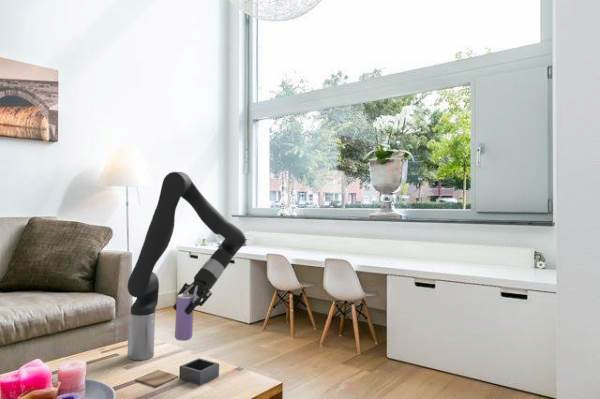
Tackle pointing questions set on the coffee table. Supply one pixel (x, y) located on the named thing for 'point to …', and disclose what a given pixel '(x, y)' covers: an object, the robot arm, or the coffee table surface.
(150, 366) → the coffee table surface
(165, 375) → the walnut coaster
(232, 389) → the coffee table surface
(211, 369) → the square socket
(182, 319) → the beverage can
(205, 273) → the robot arm
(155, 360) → the coffee table surface
